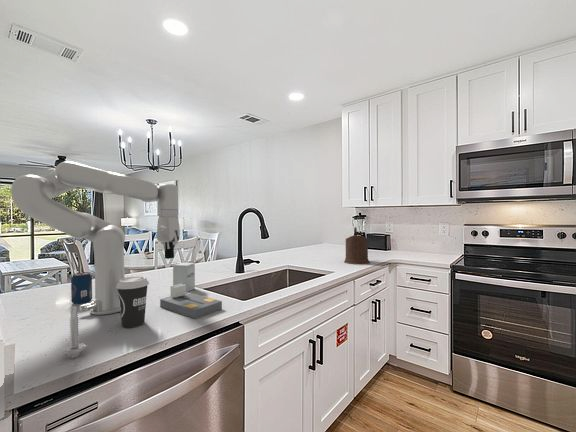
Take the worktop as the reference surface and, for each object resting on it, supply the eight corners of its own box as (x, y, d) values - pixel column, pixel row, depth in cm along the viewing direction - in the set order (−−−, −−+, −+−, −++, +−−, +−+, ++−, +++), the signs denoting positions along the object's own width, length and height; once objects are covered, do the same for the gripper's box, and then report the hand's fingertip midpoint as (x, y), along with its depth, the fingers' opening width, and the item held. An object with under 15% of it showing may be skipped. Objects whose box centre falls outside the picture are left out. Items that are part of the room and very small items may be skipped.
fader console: (195, 318, 97) (195, 309, 97) (160, 306, 110) (160, 298, 110) (221, 309, 107) (221, 300, 107) (187, 299, 120) (186, 291, 119)
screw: (88, 355, 72) (64, 363, 69) (83, 349, 75) (60, 356, 72) (87, 305, 72) (63, 310, 68) (82, 301, 75) (59, 306, 72)
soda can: (69, 302, 116) (69, 273, 115) (90, 298, 121) (89, 271, 121) (73, 306, 111) (72, 276, 111) (94, 302, 116) (93, 273, 116)
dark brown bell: (344, 264, 198) (344, 228, 197) (343, 258, 221) (343, 227, 221) (371, 264, 194) (371, 228, 194) (367, 259, 218) (367, 227, 218)
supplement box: (187, 292, 129) (186, 265, 129) (172, 292, 130) (172, 265, 130) (195, 288, 136) (195, 262, 136) (181, 287, 138) (181, 262, 137)
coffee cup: (126, 332, 86) (125, 283, 86) (110, 326, 91) (110, 280, 91) (155, 322, 94) (154, 277, 94) (139, 316, 99) (138, 274, 99)
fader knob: (174, 297, 110) (174, 287, 110) (170, 296, 112) (170, 286, 112) (186, 294, 114) (186, 284, 114) (181, 293, 116) (181, 283, 116)
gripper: (150, 214, 118) (151, 258, 118) (170, 214, 109) (171, 261, 109) (166, 214, 124) (167, 255, 124) (187, 213, 115) (188, 258, 115)
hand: (169, 258), depth 117 cm, fingers closed
